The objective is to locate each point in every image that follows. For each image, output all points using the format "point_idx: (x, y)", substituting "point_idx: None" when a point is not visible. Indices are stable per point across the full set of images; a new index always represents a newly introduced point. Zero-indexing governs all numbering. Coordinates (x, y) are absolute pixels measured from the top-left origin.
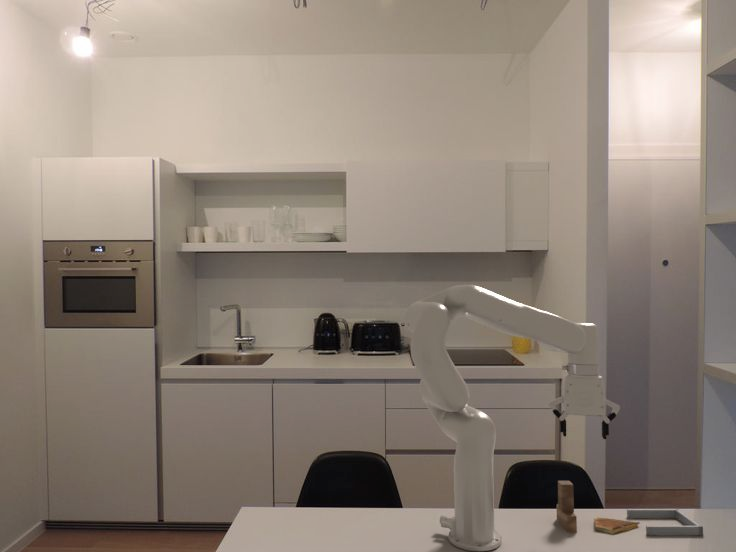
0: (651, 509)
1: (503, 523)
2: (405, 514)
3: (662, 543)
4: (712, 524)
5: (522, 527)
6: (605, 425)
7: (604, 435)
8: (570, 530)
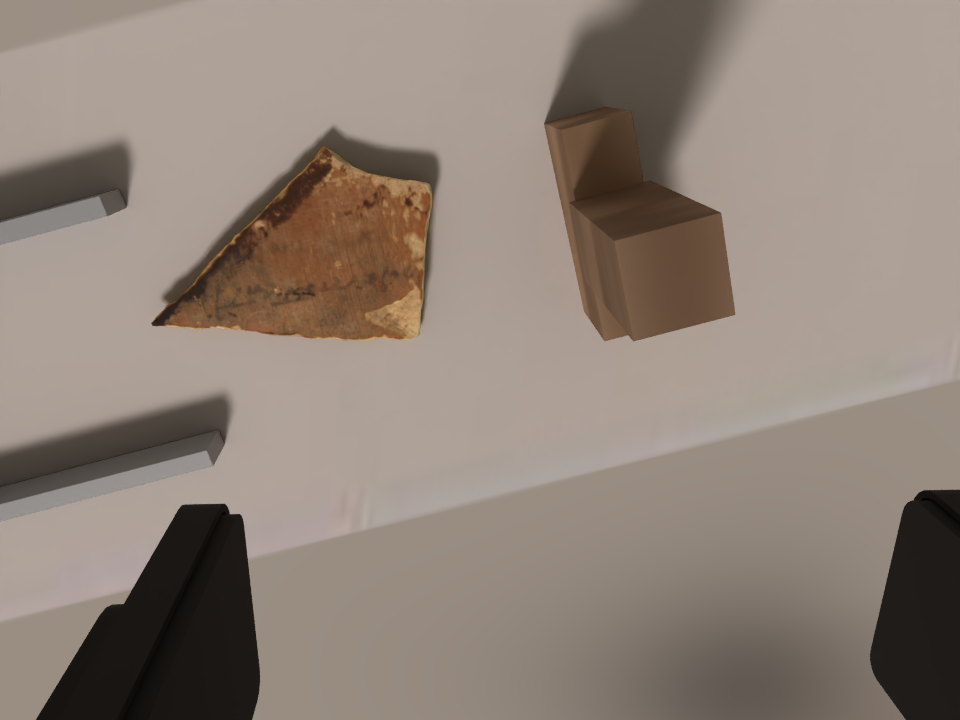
0: (64, 499)
1: None
2: None
3: (35, 77)
4: None
5: (866, 116)
6: (86, 698)
7: (200, 537)
8: (584, 114)
